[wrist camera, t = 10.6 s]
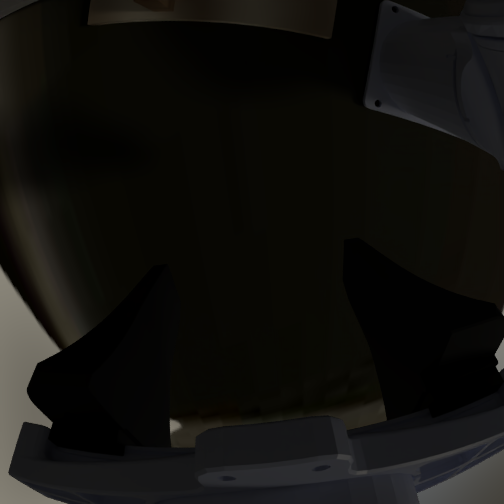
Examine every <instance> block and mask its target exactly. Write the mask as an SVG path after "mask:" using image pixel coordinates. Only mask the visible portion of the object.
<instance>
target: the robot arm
mask: <svg viewBox="0 0 504 504" xmlns="http://www.w3.org/2000/svg"><path fill="white" fill-rule="evenodd" d="M392 7H395V9H396V13H395V12H393V11H392ZM376 100H379V106H377V107H376V106H375V101H376ZM363 104H364V106H365V107H367V108H369V109H372V110H376V111H380V112H383V113H387V114H390V115H394V116H397V117H401V118H404V119H407V120H410V121H413V122H416V123H419V124H422V125H425V126H428V127H431V128H434V129H437V130H440V131H443V132H445V133H448V134H451V135H453V136H456V137H459V138H461V139H464V140H466V141H468V142H470V143H472V144H473V145H475V146H477V147H479V148H481V149H483V150H484V151H486V152H488V153H490V154H491V155H493V156H494V157H495V158H496V159H497V160H498V162H499V164H500V167H501V169H502V170H503V171H504V0H466V2H465V5H464V8H463V10H462V11H461V13H460V16H452V17H439V18H429V17H427V16H425V15H423V14H421V13H418V12H416V11H414V10H411V9H409V8H407V7H404V6H402V5H399V4H397V3H394V2H391V1H388V0H385V1H382V2H381V3H380V6H379V12H378V19H377V25H376V31H375V37H374V43H373V49H372V55H371V60H370V65H369V71H368V76H367V81H366V86H365V91H364V96H363ZM343 282H344V286H345V289H346V292H347V295H348V299H349V301H350V304H351V306H352V308H353V310H354V312H355V315H356V317H357V319H358V321H359V324H360V326H361V328H362V330H363V332H364V335H365V337H366V339H367V342H368V344H369V347H370V350H371V353H372V357H373V360H374V363H375V367H376V371H377V375H378V379H379V383H380V387H381V391H382V396H383V401H384V405H385V411H386V417H387V421H384V422H380V423H376V424H372V425H368V426H364V427H360V428H355V429H351V430H346V426H345V424H344V422H343V420H341V419H339V418H335V417H331V416H328V415H327V416H310V417H304V418H297V419H291V420H283V421H275V422H267V423H258V424H248V425H236V426H223V427H218V428H212V429H208V430H206V431H205V432H203V433H201V434H200V435H198V436H197V437H196V446H195V448H171V440H170V415H169V406H170V375H171V367H172V361H173V355H174V350H175V344H176V339H177V334H178V328H179V322H180V299H179V296H178V293H177V290H176V287H175V284H174V281H173V278H172V275H171V272H170V269H169V266H168V264H163V265H156V266H153V267H152V268H151V269H150V270H149V272H148V273H147V274H146V275H145V276H144V277H143V278H142V280H141V281H140V282H139V283H138V284H137V285H136V287H135V288H134V289H133V290H132V291H131V292H130V293H129V295H128V296H127V297H126V298H125V299H124V300H123V301H122V302H121V303H120V304H119V305H118V306H117V307H116V308H115V309H114V311H113V312H111V313H110V314H109V315H108V316H107V317H106V318H105V319H104V320H103V321H102V322H101V323H99V324H98V325H97V326H96V327H95V328H93V329H92V330H91V331H90V332H88V333H87V334H86V335H84V336H83V337H82V338H80V339H79V340H78V341H76V342H75V343H73V344H72V345H70V346H68V347H67V348H65V349H64V350H62V351H60V352H59V353H57V354H55V355H53V356H51V357H49V358H47V359H45V360H43V361H41V362H39V363H38V364H37V366H36V368H35V370H34V373H33V375H32V377H31V380H30V382H29V385H28V387H27V394H28V396H29V398H30V400H31V401H32V402H33V403H34V405H35V406H36V407H37V408H38V409H40V411H41V412H43V414H45V415H46V416H47V417H48V418H49V419H50V420H51V421H52V422H53V424H52V427H51V429H50V428H48V427H46V426H43V425H38V424H33V423H28V422H24V423H23V425H22V429H21V431H20V434H19V438H18V441H17V444H16V447H15V451H14V454H13V457H12V461H11V464H10V468H9V472H8V473H9V475H11V476H12V477H14V478H15V479H17V480H18V481H20V482H22V483H23V484H25V485H27V486H29V487H30V488H32V489H33V490H35V491H37V492H39V493H41V494H43V495H44V496H46V497H48V498H51V499H54V500H58V501H61V502H64V503H68V504H419V501H418V497H417V493H418V492H421V491H423V490H425V489H428V488H430V487H432V486H435V485H437V484H439V483H441V482H443V481H446V480H448V479H450V478H452V477H454V476H456V475H458V474H460V473H462V472H464V471H466V470H468V469H469V468H471V467H473V466H475V465H477V464H479V463H481V462H482V461H484V460H486V459H487V458H490V457H491V456H493V455H495V454H497V453H498V452H500V451H502V450H503V449H504V369H502V370H501V371H500V372H498V370H497V368H496V365H497V364H498V360H497V358H496V357H495V353H496V351H497V349H498V348H499V346H500V344H501V342H502V340H503V338H504V316H503V314H502V313H501V312H500V310H499V309H498V308H497V306H496V305H495V304H494V303H490V302H485V301H481V300H476V299H472V298H469V297H466V296H462V295H459V294H456V293H453V292H451V291H448V290H445V289H443V288H441V287H438V286H436V285H434V284H431V283H429V282H427V281H425V280H423V279H421V278H419V277H417V276H416V275H414V274H412V273H410V272H409V271H407V270H405V269H404V268H402V267H400V266H399V265H397V264H396V263H394V262H393V261H391V260H390V259H388V258H387V257H385V256H384V255H382V254H381V253H380V252H378V251H377V250H375V249H374V248H373V247H371V246H370V245H368V244H367V243H365V242H364V241H363V240H361V239H359V238H354V239H346V240H344V263H343Z"/></svg>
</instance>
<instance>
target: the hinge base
mask: <svg viewBox="0 0 504 504" xmlns="http://www.w3.org/2000/svg"><path fill="white" fill-rule="evenodd" d="M336 6H337V0H91V2H90V9H89V17H88V25H93V26H95V25H103V24H113V23H125V22H142V21H202V22H219V23H231V24H242V25H251V26H259V27H266V28H273V29H279V30H285V31H291V32H297V33H302V34H307V35H312V36H316V37H321V38H325V39H329V38H331V37H332V31H333V25H334V19H335V12H336Z"/></svg>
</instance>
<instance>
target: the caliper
mask: <svg viewBox="0 0 504 504" xmlns="http://www.w3.org/2000/svg"><path fill="white" fill-rule="evenodd" d="M35 1H38V0H1V1H0V19H1V18H2V17H4V16H6V15H8V14H10V13H12V12H14V11H16V10H18V9H20V8H22V7H24V6H27V5H29V4H31V3H33V2H35Z"/></svg>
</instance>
